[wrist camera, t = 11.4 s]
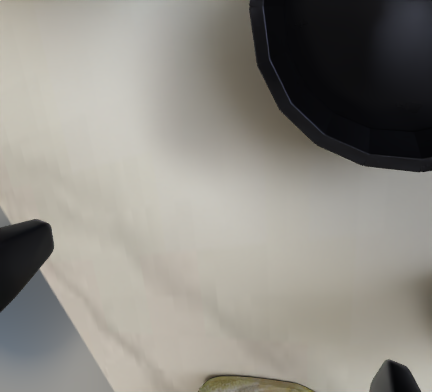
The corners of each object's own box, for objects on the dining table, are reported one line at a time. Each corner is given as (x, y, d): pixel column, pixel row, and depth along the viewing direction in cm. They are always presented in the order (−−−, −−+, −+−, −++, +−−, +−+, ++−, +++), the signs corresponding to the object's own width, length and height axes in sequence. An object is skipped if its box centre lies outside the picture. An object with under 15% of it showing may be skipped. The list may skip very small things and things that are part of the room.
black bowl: (738, -213, 10) (918, -319, 7) (499, 169, 16) (530, 211, 13) (314, -213, 13) (293, -285, 10) (253, 108, 19) (229, 130, 16)
